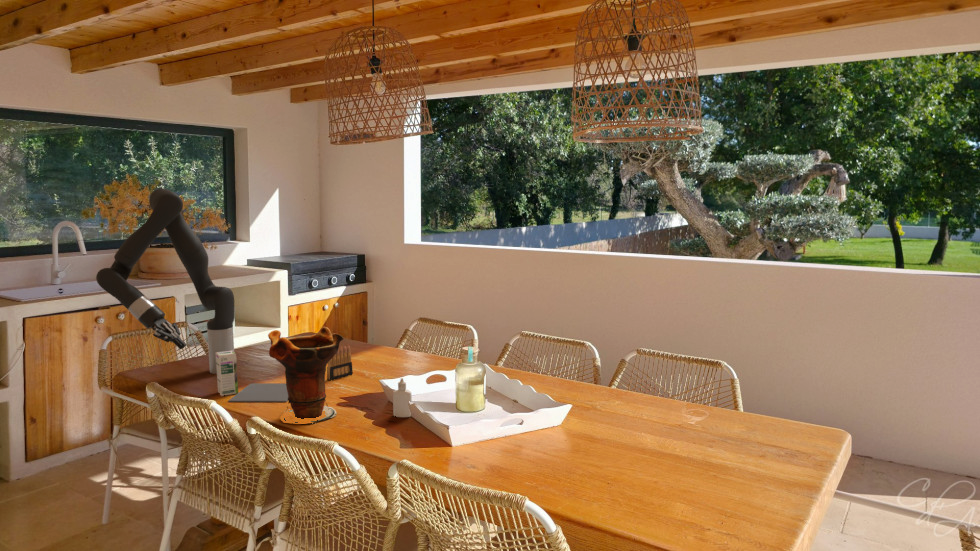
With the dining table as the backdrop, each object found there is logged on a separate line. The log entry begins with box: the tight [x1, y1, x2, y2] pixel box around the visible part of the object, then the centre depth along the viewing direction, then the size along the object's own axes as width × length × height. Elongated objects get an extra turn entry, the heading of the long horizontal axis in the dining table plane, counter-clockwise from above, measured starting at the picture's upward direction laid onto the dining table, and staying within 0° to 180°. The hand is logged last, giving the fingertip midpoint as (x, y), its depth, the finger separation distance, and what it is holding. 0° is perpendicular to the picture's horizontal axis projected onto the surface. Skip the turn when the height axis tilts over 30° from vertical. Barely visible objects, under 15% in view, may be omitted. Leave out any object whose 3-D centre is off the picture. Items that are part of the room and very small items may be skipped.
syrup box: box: [216, 350, 239, 397], centre depth 235 cm, size 6×6×14 cm
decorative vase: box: [267, 326, 345, 423], centre depth 211 cm, size 21×23×28 cm
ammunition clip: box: [326, 343, 354, 381], centre depth 254 cm, size 11×2×12 cm, turn 141°
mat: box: [228, 382, 289, 403], centre depth 235 cm, size 20×19×1 cm
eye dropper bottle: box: [392, 377, 413, 418], centre depth 211 cm, size 4×6×12 cm
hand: (184, 347), depth 234 cm, fingers closed
